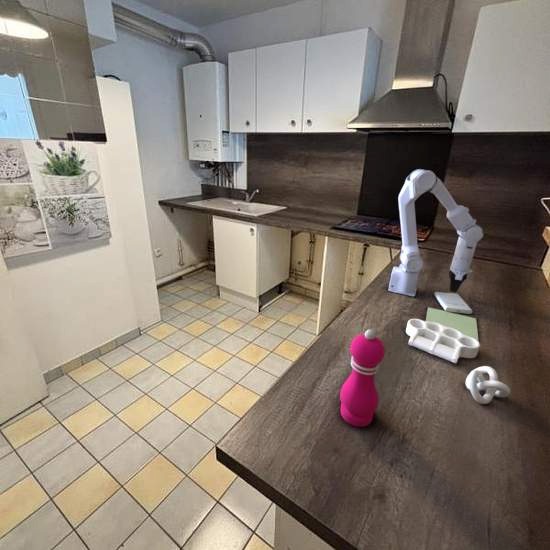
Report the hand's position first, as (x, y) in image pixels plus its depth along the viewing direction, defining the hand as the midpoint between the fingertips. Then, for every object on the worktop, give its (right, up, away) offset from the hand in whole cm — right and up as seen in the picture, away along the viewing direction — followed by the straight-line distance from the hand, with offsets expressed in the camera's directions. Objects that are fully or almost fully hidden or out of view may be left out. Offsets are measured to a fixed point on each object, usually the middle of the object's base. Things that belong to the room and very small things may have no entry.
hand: (453, 291), depth 109 cm
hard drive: (-4, -5, -6) cm, 9 cm away
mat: (-11, -9, -17) cm, 23 cm away
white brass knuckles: (-22, -14, -28) cm, 38 cm away
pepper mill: (-50, -22, -50) cm, 74 cm away
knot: (-22, -21, -45) cm, 54 cm away
